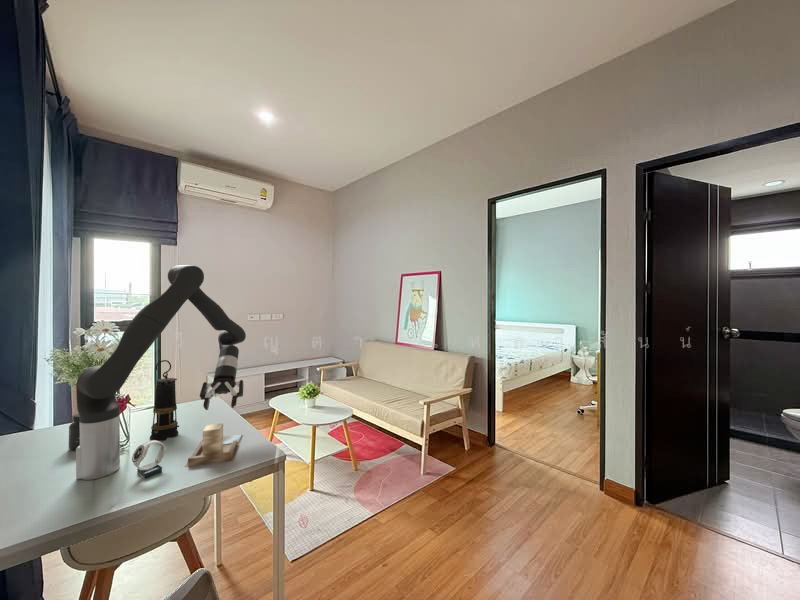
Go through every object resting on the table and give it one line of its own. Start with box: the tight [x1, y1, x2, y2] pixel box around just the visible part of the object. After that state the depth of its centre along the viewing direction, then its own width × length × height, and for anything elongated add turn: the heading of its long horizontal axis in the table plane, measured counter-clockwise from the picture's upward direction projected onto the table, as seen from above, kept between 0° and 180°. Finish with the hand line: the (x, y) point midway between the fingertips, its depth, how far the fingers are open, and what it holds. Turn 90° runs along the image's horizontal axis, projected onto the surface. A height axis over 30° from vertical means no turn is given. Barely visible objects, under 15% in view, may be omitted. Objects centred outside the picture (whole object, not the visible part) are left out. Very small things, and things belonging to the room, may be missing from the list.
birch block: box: [202, 422, 224, 455], centre depth 109 cm, size 5×5×10 cm
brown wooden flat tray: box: [184, 434, 244, 468], centre depth 114 cm, size 14×20×4 cm
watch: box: [131, 440, 167, 480], centre depth 98 cm, size 6×8×11 cm
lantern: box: [149, 359, 180, 442], centre depth 127 cm, size 9×9×30 cm
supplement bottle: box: [68, 413, 80, 452], centre depth 117 cm, size 7×7×12 cm
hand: (219, 407), depth 118 cm, fingers open, 8 cm apart
